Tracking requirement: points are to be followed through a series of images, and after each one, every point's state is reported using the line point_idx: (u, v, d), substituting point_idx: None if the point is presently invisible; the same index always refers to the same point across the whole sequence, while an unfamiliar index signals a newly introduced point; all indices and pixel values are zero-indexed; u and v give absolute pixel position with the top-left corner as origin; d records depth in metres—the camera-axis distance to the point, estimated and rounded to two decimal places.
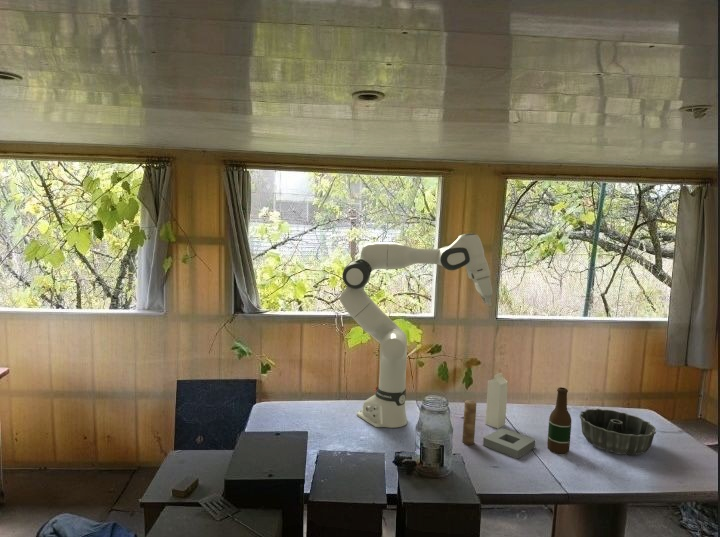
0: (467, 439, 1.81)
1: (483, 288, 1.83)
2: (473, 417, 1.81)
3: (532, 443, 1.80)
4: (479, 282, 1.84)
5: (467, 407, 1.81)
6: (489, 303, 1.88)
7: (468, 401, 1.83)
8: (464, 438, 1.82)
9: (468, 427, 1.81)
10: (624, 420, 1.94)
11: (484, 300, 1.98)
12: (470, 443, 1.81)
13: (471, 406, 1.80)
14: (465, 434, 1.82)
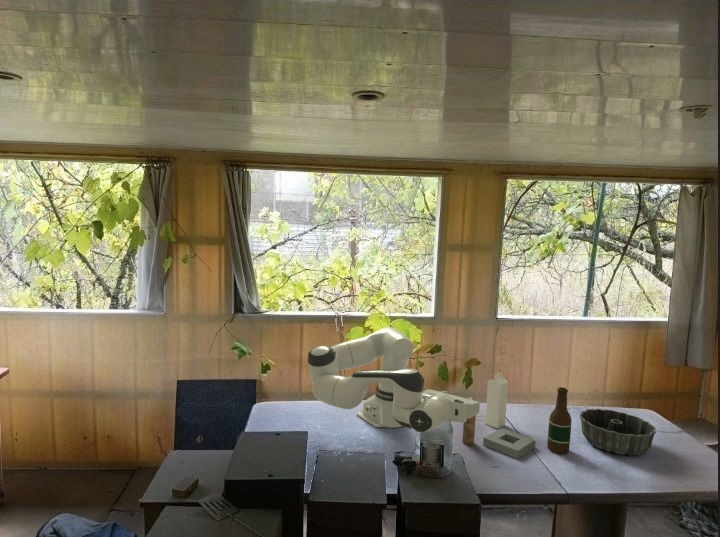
0: (467, 439, 1.81)
1: (475, 412, 1.59)
2: (473, 417, 1.81)
3: (532, 443, 1.80)
4: (470, 416, 1.58)
5: None
6: None
7: None
8: (464, 438, 1.82)
9: (468, 427, 1.81)
10: (624, 420, 1.94)
11: None
12: (470, 443, 1.81)
13: None
14: (465, 434, 1.82)
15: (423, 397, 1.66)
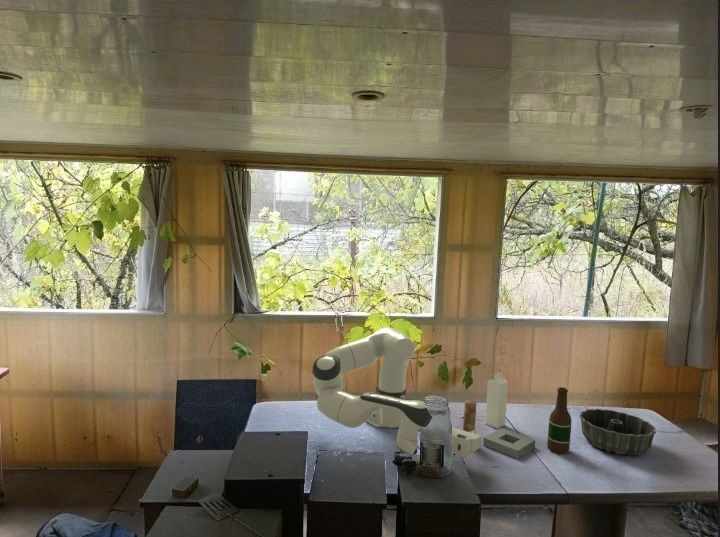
0: None
1: (477, 447, 1.63)
2: (473, 417, 1.81)
3: (532, 443, 1.80)
4: (473, 451, 1.61)
5: (467, 407, 1.81)
6: (473, 433, 1.71)
7: (468, 401, 1.83)
8: None
9: (468, 427, 1.81)
10: (624, 420, 1.94)
11: None
12: None
13: (471, 406, 1.80)
14: None
15: None
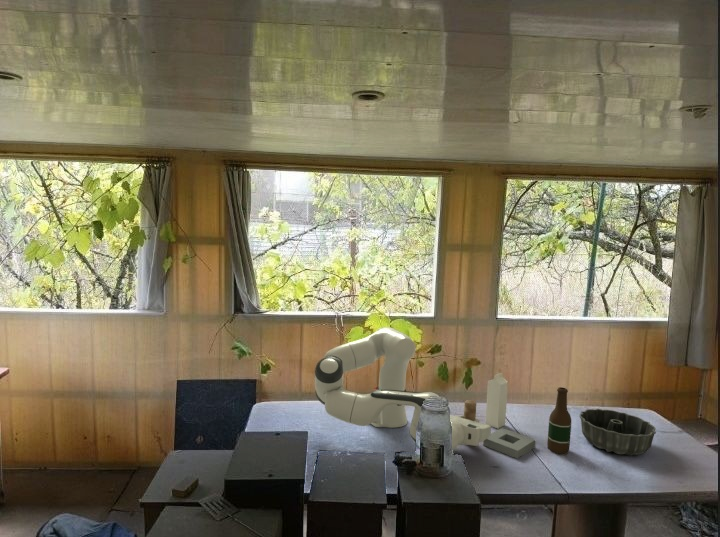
0: None
1: (487, 436, 1.71)
2: (473, 417, 1.81)
3: (532, 443, 1.80)
4: (482, 440, 1.70)
5: (467, 407, 1.81)
6: (478, 422, 1.80)
7: (468, 401, 1.83)
8: None
9: None
10: (624, 420, 1.94)
11: None
12: None
13: (471, 406, 1.80)
14: None
15: None
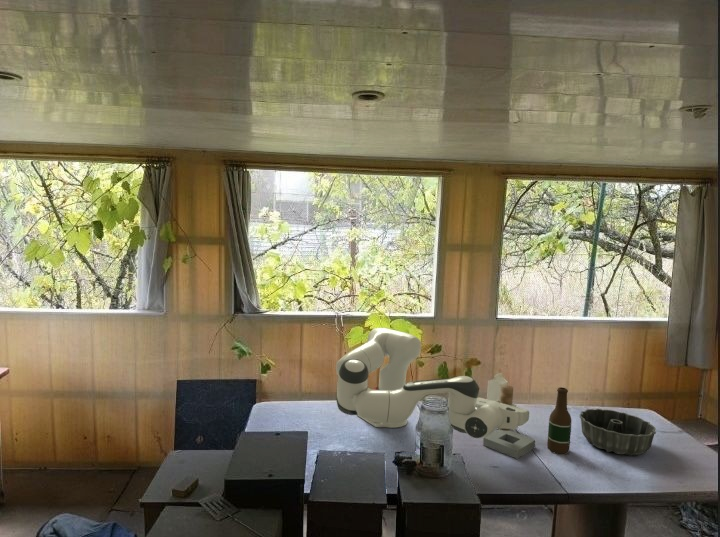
0: None
1: (526, 420, 1.67)
2: (510, 402, 1.77)
3: (532, 443, 1.80)
4: (521, 424, 1.66)
5: (504, 392, 1.77)
6: None
7: (504, 386, 1.79)
8: None
9: None
10: (624, 420, 1.94)
11: None
12: (506, 429, 1.77)
13: (508, 391, 1.76)
14: None
15: None
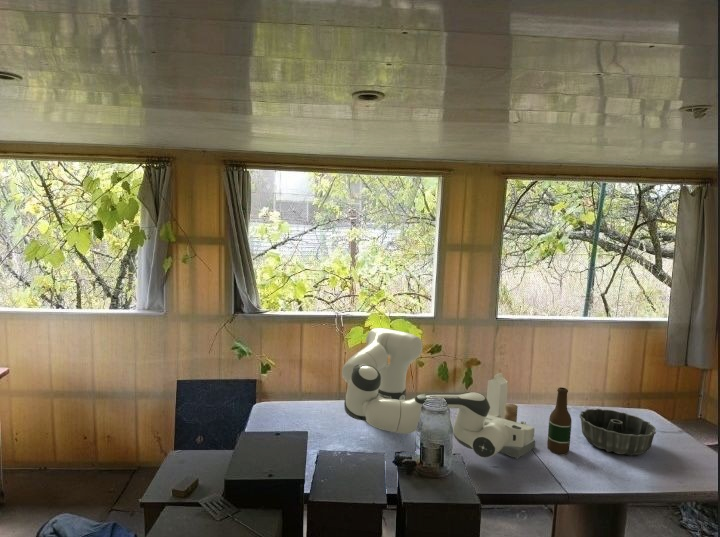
0: None
1: (531, 437, 1.69)
2: (514, 421, 1.79)
3: (532, 443, 1.80)
4: (527, 441, 1.68)
5: (508, 411, 1.79)
6: (525, 424, 1.78)
7: (509, 404, 1.81)
8: None
9: None
10: (624, 420, 1.94)
11: None
12: None
13: (513, 410, 1.78)
14: None
15: None
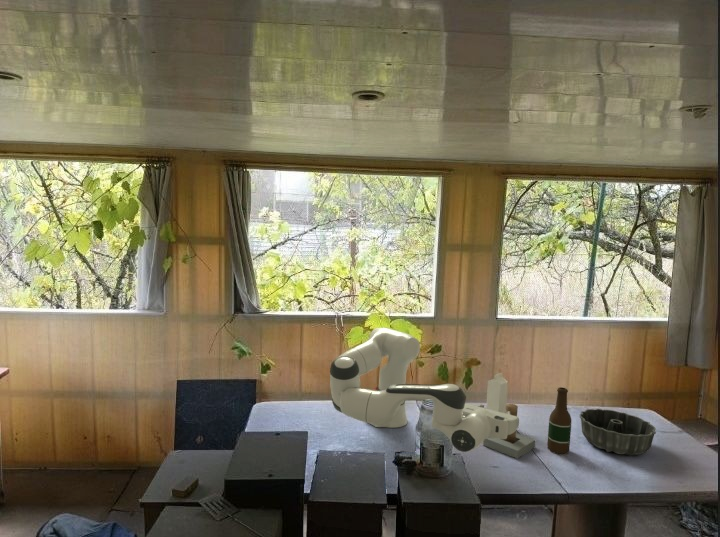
0: None
1: (515, 428, 1.57)
2: None
3: (532, 443, 1.80)
4: (511, 433, 1.55)
5: None
6: (509, 414, 1.65)
7: (509, 404, 1.81)
8: None
9: None
10: (624, 420, 1.94)
11: (482, 408, 1.71)
12: None
13: (513, 410, 1.78)
14: (507, 438, 1.80)
15: None
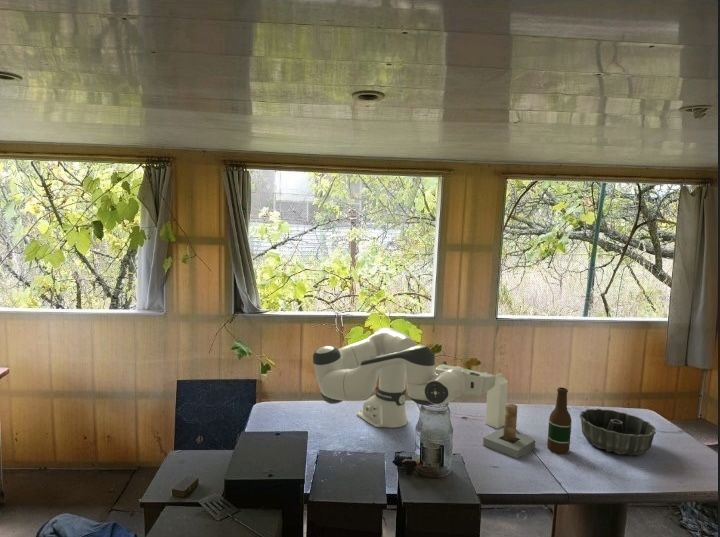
0: None
1: (491, 386, 1.56)
2: (514, 421, 1.79)
3: (532, 443, 1.80)
4: (486, 390, 1.54)
5: (508, 411, 1.79)
6: None
7: (509, 404, 1.81)
8: None
9: (510, 430, 1.79)
10: (624, 420, 1.94)
11: None
12: None
13: (513, 410, 1.78)
14: (506, 438, 1.80)
15: (437, 371, 1.63)
